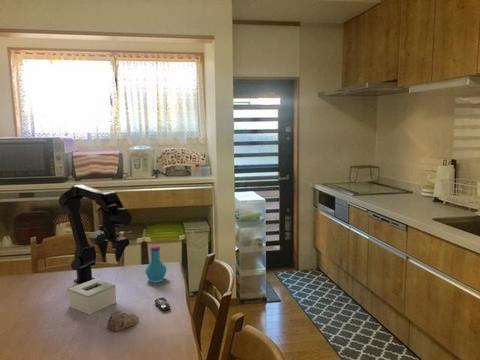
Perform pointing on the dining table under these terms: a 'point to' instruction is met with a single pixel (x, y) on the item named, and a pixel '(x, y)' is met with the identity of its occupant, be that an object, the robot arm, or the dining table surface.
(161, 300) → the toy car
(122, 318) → the rock
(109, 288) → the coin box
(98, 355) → the dining table surface
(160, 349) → the dining table surface
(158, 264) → the perfume bottle
